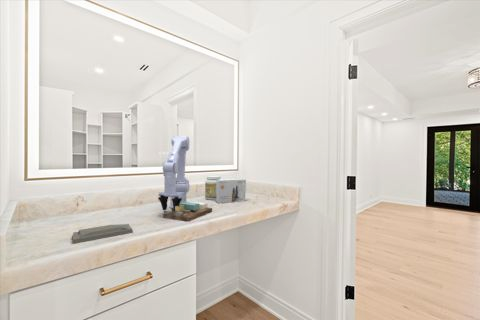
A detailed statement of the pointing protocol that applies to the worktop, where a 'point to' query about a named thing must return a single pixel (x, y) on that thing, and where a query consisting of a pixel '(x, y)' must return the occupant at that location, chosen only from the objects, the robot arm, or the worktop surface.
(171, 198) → the robot arm
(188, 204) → the teal button
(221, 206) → the worktop surface
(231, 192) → the skincare box
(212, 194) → the supplement tub
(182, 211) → the brass slider
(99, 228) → the soap mold
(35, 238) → the worktop surface
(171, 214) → the panel
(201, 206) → the white rectangular block
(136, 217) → the worktop surface
